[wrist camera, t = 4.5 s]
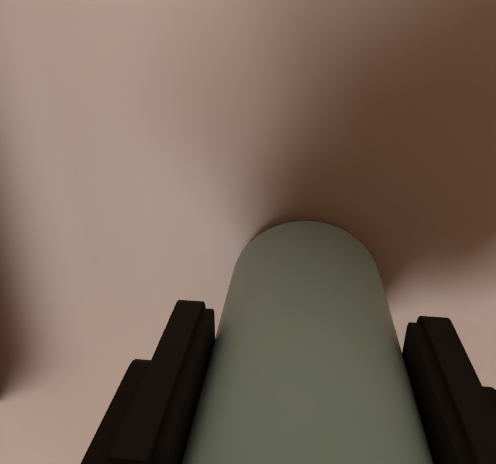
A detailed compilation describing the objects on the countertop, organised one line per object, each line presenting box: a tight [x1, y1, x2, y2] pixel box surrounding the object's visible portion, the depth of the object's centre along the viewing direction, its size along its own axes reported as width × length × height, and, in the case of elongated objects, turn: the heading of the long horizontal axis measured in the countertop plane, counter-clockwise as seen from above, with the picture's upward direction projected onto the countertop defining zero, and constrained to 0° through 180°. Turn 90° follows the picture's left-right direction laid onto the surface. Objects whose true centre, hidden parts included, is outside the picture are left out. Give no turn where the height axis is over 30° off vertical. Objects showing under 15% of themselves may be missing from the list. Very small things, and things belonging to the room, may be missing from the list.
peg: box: [181, 221, 433, 464], centre depth 8 cm, size 4×4×10 cm
